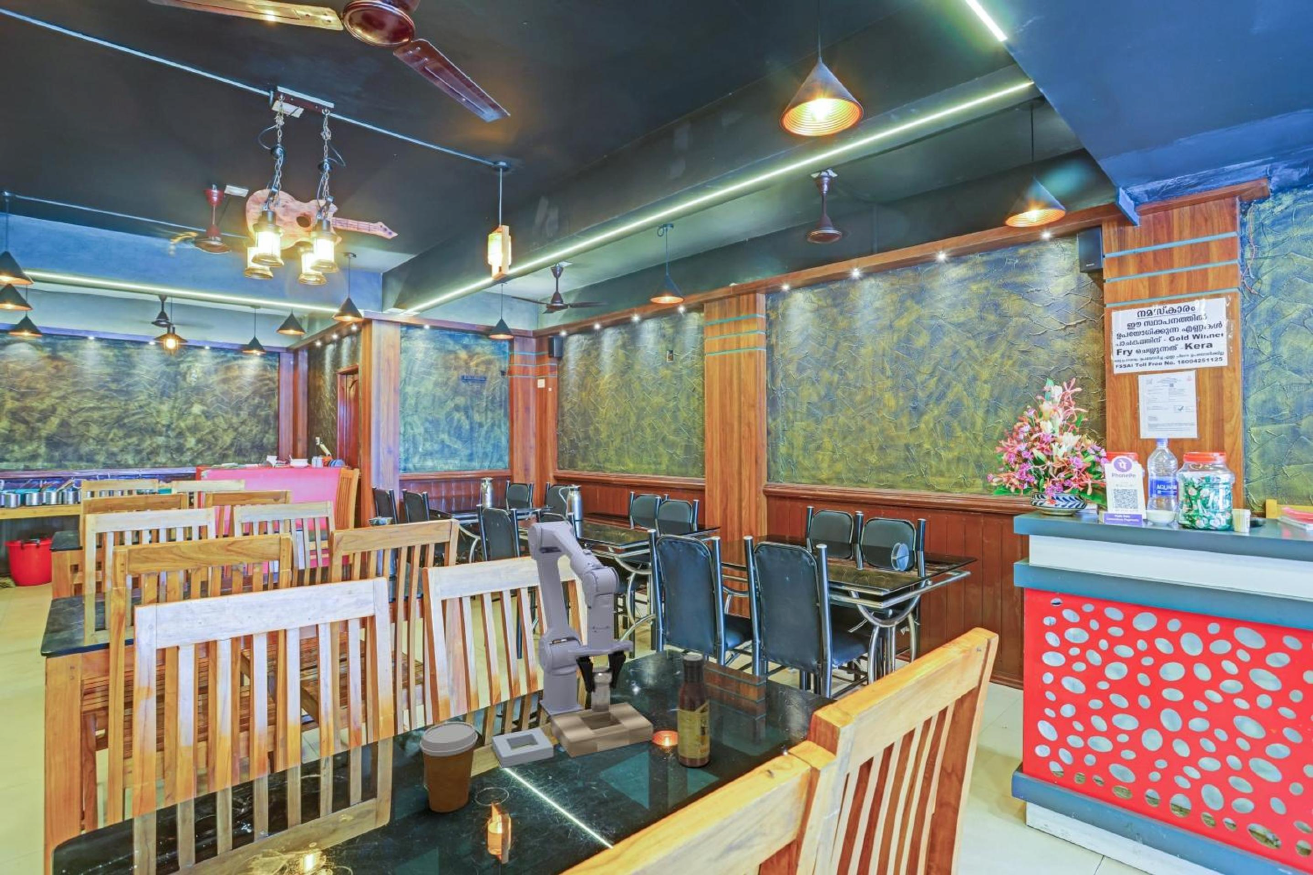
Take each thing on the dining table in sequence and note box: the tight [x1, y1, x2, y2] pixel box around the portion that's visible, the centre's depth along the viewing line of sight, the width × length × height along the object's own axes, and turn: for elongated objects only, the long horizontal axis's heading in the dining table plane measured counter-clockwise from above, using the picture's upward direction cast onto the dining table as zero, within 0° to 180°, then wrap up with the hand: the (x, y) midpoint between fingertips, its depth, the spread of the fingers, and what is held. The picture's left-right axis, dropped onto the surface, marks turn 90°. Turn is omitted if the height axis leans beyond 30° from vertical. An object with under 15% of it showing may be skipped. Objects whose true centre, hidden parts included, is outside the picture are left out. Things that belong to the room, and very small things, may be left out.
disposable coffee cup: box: [419, 721, 479, 813], centre depth 109 cm, size 10×10×12 cm
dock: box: [550, 701, 654, 758], centre depth 135 cm, size 14×18×3 cm
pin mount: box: [491, 727, 554, 769], centre depth 128 cm, size 10×10×2 cm
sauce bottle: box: [676, 654, 711, 768], centre depth 124 cm, size 7×6×20 cm
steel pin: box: [590, 666, 613, 712], centre depth 136 cm, size 5×5×8 cm
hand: (600, 689), depth 136 cm, fingers closed on steel pin, 5 cm apart
